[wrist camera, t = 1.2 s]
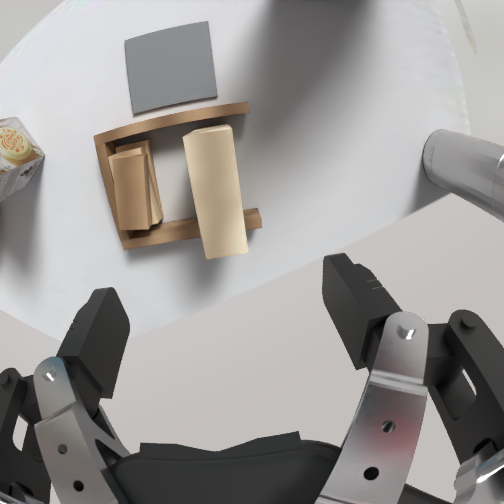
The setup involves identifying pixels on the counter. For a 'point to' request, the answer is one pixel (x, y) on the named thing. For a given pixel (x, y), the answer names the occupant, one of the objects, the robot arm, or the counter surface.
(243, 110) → the rack
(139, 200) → the slat top
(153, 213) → the slat middle
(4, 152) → the coffee box
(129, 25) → the counter surface
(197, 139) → the tall beige block
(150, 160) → the slat bottom
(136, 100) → the mat
